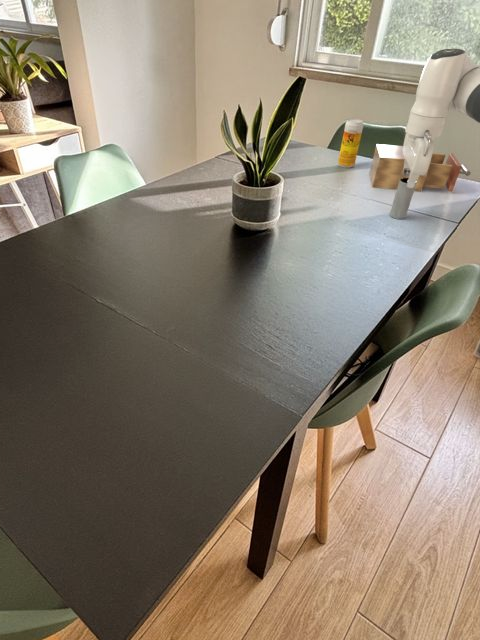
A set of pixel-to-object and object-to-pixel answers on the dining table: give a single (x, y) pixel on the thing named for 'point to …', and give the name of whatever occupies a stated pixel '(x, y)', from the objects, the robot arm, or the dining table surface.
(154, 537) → the dining table surface
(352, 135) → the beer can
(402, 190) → the grey cylindrical tube
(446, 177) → the drawer
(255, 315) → the dining table surface
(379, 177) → the cabinet
